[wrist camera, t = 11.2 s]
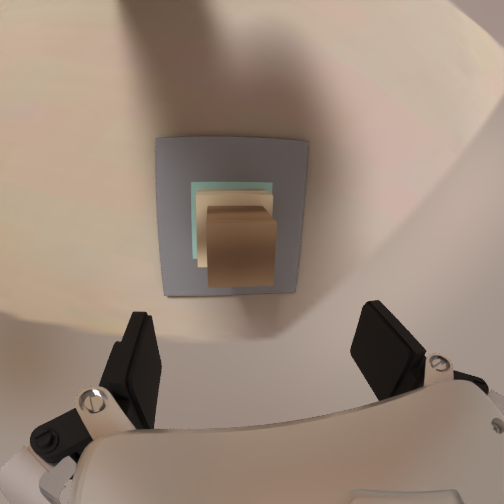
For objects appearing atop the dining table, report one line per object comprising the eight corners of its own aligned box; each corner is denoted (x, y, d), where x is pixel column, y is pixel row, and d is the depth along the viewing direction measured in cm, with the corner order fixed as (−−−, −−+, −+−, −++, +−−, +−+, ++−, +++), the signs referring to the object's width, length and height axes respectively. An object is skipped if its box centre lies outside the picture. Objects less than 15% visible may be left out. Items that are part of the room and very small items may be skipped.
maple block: (198, 189, 27) (195, 195, 24) (265, 189, 28) (273, 195, 25) (199, 252, 30) (197, 267, 26) (262, 251, 31) (269, 266, 27)
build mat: (156, 138, 25) (155, 138, 25) (307, 141, 28) (308, 141, 27) (164, 293, 32) (164, 296, 31) (294, 290, 34) (295, 292, 34)
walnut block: (207, 206, 24) (206, 223, 19) (262, 205, 25) (277, 222, 19) (208, 257, 26) (208, 287, 21) (260, 256, 27) (273, 285, 21)
